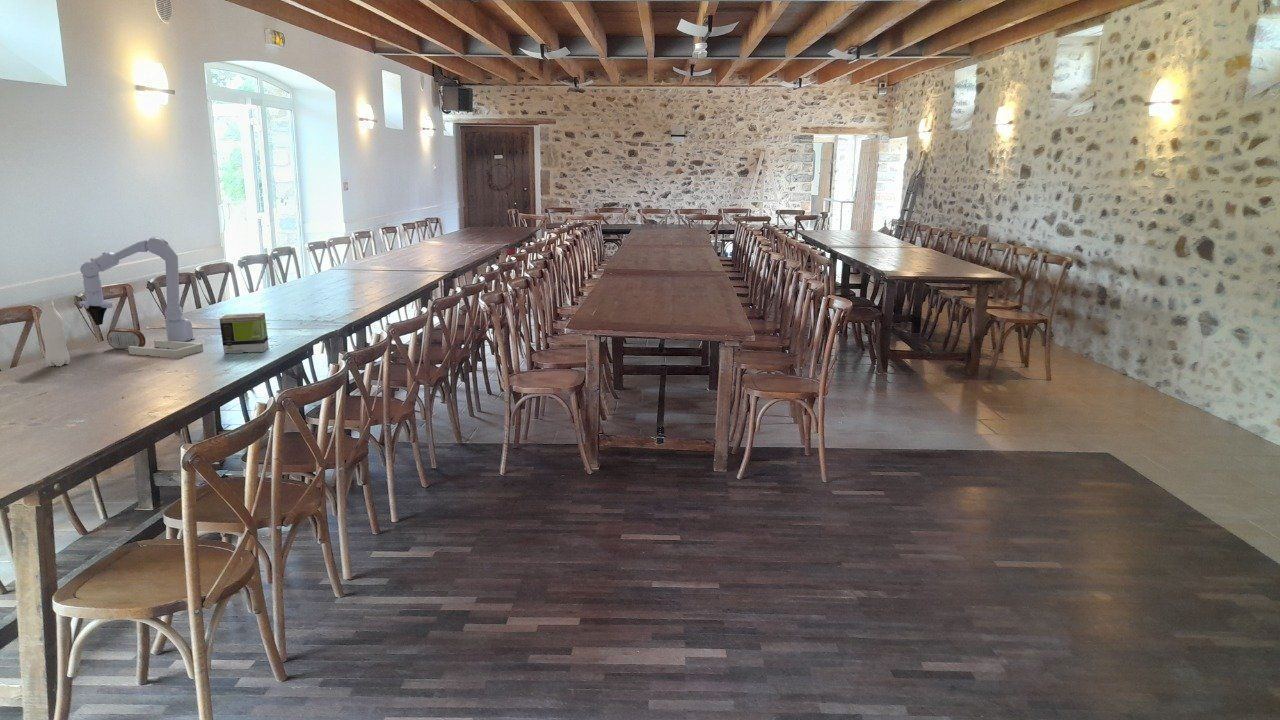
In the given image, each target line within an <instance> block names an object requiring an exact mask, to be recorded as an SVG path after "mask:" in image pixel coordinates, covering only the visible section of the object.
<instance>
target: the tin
mask: <svg viewBox="0 0 1280 720" xmlns="http://www.w3.org/2000/svg"><path fill="white" fill-rule="evenodd" d="M106 341H107V343H108V345H109V346H110V347H112V348H113V349H116V350H125V349H128V347H129V346H135V347H145V345H146V343H147V342H146V337H145V334H144V333H142V332H141V331H140V330H138V329H136V328H120V327H119V328H114V329H111V330H110V331H108V333H107V334H106Z"/></svg>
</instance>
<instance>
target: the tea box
mask: <svg viewBox="0 0 1280 720" xmlns="http://www.w3.org/2000/svg"><path fill="white" fill-rule="evenodd" d="M219 327H220V333H221V339H222V340H221V341H222V347H223V353H224V354H225V355H226V353H229V354H241V353H243V352H248V353H260V352H262V353H263V352H265V351H266V350H267V349H268V348H269V345H270V344H269V336H268V329H267V319H266V314H265V312H252V313H251V312H249V313H234V314H232V313H230V314H229V313H228V314H224V315H223V316H222V317H220V318H219ZM243 354H244V353H243Z"/></svg>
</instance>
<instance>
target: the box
mask: <svg viewBox="0 0 1280 720" xmlns="http://www.w3.org/2000/svg"><path fill="white" fill-rule="evenodd" d="M153 345H154V347H145V346H144V347H135V346H129V347H128V349H129V350H128V354H129V355H135V354H136V355H135V356H146V355H150V356H149V357H158V356H160V357H161V358H170V357H172V358H173V359H180V358H182V357H186V355H187V356H190V355H193V353H194V354H197V353H201V352H204V345H203V343H198V342H188V341H184V342H176V341H164V340H161V339H160V340H159V339H155V340H153ZM155 347H159V348H155ZM167 348H169V349H167ZM200 351H201V352H200ZM196 352H197V353H196ZM189 354H190V355H189ZM160 357H159V358H160ZM172 358H171V359H172Z"/></svg>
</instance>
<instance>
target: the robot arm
mask: <svg viewBox="0 0 1280 720" xmlns="http://www.w3.org/2000/svg"><path fill="white" fill-rule="evenodd" d="M148 252H149V253H151V254H153V255H156V256H159V258H161V259H162V260H163V261H165V281H166V283H165V284H166V285H165V287H166V307H165V310H164V314H163V315H164V317H165V319H164V324H165V330H166V331H165V332H166V338H167V339H165V340H164V341H176V342H188V341H192V340H195V339H196V338H195V337H194V332H193V325H192V322H191V320H190V319H187V318H185V317H183V311H184V310H183V307H182V306H181V301H180V281H179V280H180V279H179V277H180V276H179V255H178V254H177V253H176V251H175V250H174V249H173V247H171V245H170V244H169V242H168V241H166V240H165V239H164V238H162V237H159V236H152V237H150V238H148V239H147V238H146V239H143V240H139V241H137V242H135V243H132V244H131V245H129V246H126V247H125V248H123V249H121V250H119V251H117V252H112V251H111V252H110V251H109V252H106V251H104V252H102V253H101V254H102V255H99V256H97V257H95V258H90V259H89V261H86V262H84V263H83V264H81V266H80V269H79V270H80V274H82V279H83V282H82V283H83V288H84V294H85V295H84V296H85V300H82V301H78V303H79V307H88V308H86V309H85V310H86V312H87V313H88V314H89V315H90V317H91V318H92V320H93V323H94V324H95V325H96V326H100V325H103V323H104V317H105V313H106V312H107V310H108V309H112V308H113V302H108V301H104V293H103V288H102V281H101V279H100V278H101V277H100V274H99V273H100V272H102V273H103V272H105V271H107V270H109V269H112V268H113V267H116V266H118V265H119V263H120V261H121V260H123V259H126V258H127V257H130V256H133V255H134V254H137V253H148ZM191 339H192V340H191Z"/></svg>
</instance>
